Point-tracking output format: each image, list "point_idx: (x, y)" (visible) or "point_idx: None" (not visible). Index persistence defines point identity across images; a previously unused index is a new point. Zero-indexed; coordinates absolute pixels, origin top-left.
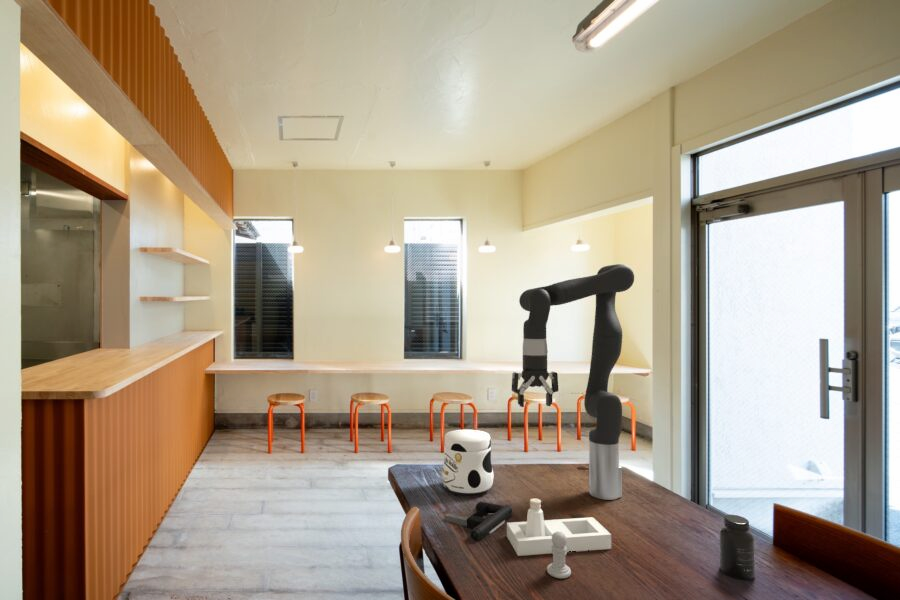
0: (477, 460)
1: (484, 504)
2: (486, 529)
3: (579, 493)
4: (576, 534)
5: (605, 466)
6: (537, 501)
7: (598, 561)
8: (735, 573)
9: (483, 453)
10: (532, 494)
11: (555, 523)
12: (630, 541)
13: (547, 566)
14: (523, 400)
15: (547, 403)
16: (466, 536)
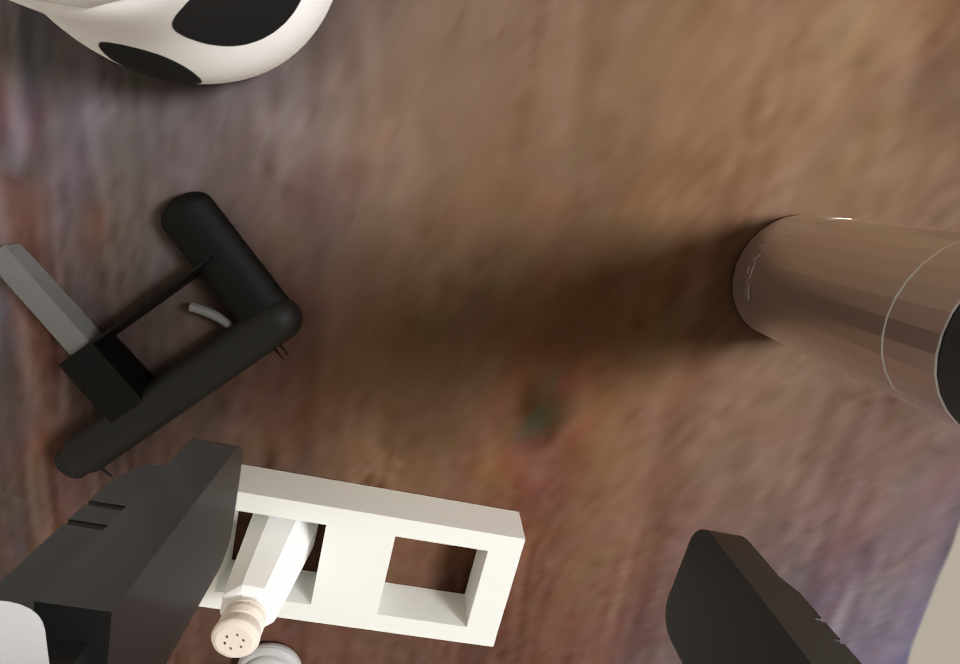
0: (118, 28)
1: (190, 245)
2: (122, 453)
3: (709, 223)
4: (388, 618)
5: (851, 375)
6: (235, 655)
7: (408, 650)
8: None
9: (149, 10)
10: (504, 149)
11: (366, 540)
12: (573, 596)
13: (244, 656)
14: (162, 649)
15: (693, 609)
16: (63, 414)
